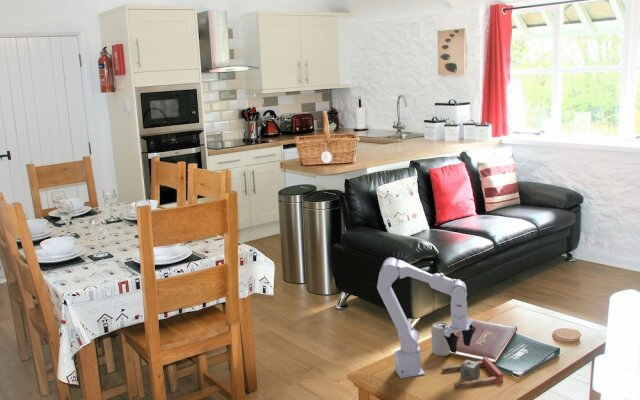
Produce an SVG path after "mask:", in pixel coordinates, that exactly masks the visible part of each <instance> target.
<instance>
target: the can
mask: <svg viewBox="0 0 640 400" xmlns="http://www.w3.org/2000/svg"><path fill="white" fill-rule="evenodd" d="M449 326H450V325H449V324H448V322H445V321H437V322H435V323H433V324H432V327H431V328H430V330H431V347H432V348H431V349H432V353H433V354H434V355H435V356H438V357H445V356H446V357H447V356H448V355H450V354H451V353H450V348H449V345H448V342H447V340H446V339H445V337H444V330H446V329H447V328H448V327H449Z"/></svg>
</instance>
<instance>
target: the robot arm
mask: <svg viewBox="0 0 640 400" xmlns="http://www.w3.org/2000/svg"><path fill="white" fill-rule="evenodd" d="M407 277H410V278H413V279H416V280H418V281H421V282H424V283H427V284H429V286H430V288H431V289H433V290H436V291H438V292H440V293H444V294H446V295H449V296H450V297H451V298H450V299H451V300H450V321H451V322H450V325H449V327H448V328H447V329H446V330H444V337H445V339H446V340H447V342H448V345H449V348H450V351H451V353H453V354H456V353H457V351H458V350H457V345H458V341H459V338H460V337H459V336H457V335H456V334H455V333H458V332H461V333H462V339H463V345H464V346H466V347H470V345H471V341H472V338H473V335H474V333H475V331H476V327H475V320H474V319H472V318H468V301H467V296H468V292H467V285H466V283H465V282H464V281H462V280H461V279H456V278H450V277H448V276H446V275H444V273H442V272H440V273H438V272H436V273H433V274H432V273H429V272H427V271H425V270H423V269H421V268H418V267H416V266H414V265H412V264H410V263H408V262H406V261H404V260H401V259H397V258H396V257H391V256H390V257H387V258H386V259H385V260H384V261H383V262H382V265H381V267H380V271H379V274H378V278H377V279H378V280H377V285H376V289H377V291H378V295H380V298H381V299H382V302H383V304H384V306H385V308H386V309H387V312H388V314H389V316H390V319H391V320H392V323H394V326H395V328H396V330H397V335H398V338H399V341H400V349H398V350H396V351H394V353H393V354H394V370H395V372H396V373H397V375H398V377H399V378H400V379H403V378H411V377H418V376H422V375H423V376H424V375H426V373H425V371H424V370H423V369H422V365H421V347H420V346H419V345H418V344H419V343H418V342H419V339H420V338H419V337H420V336H419V332H418V331H417V330H416V329H415V328H414V327H413V326H412V323H410V322H409V320H408V318H407V316H406V314H405V312H404V310H403V308H402V306H401V304H400V302H399V299H398V298H397V295H396V294H395V291H394V289H393V288H392V285H393V283H394V282H395V281H396V280H397V279H398V278H399V279H400V280H401V279H405V278H407Z"/></svg>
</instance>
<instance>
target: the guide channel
mask: <svg viewBox="0 0 640 400" xmlns="http://www.w3.org/2000/svg"><path fill="white" fill-rule="evenodd" d="M476 362H479V368H483V367H482V366H484V368H485V367H486V368H487V369H488V370H487V369H486V370H487V371H488V372H489V373H490V374H491V375H492V376H490V377H486V378H479V379H475V380H467V381H466V380H464V381H460V382H459V381H458V382H454V388H455V390H459V389H465V388H472V387H478V386H485V385H491V384H497V383H503V382H504V373H503V372H501V371H502V370H500V369H499V368H498V367H497V365H495V364H494V363H493V362H492V361H491V360H490V359H489V358H488V357H487V356H483V357H482V360H477V361H476ZM461 364H462V363H459V364H455V365H454V364H452V365H448V366H443V367H441V371H442V372H443V373H451V372H457V371H461V368H460V365H461Z"/></svg>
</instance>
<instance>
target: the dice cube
mask: <svg viewBox="0 0 640 400" xmlns="http://www.w3.org/2000/svg"><path fill="white" fill-rule="evenodd" d="M460 364H461V365H460ZM460 364H459V365H460V368H461V370H460V378H462V379H464V380H467V381H471V380H477V378H478V377H480V374H481V372H480V369H481V367H479V362H477V361H474V360H470V359H466V360H464V361H463V362H462V363H460Z"/></svg>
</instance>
